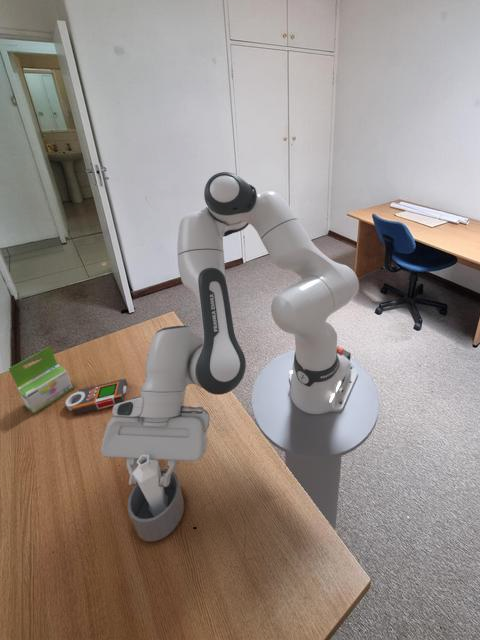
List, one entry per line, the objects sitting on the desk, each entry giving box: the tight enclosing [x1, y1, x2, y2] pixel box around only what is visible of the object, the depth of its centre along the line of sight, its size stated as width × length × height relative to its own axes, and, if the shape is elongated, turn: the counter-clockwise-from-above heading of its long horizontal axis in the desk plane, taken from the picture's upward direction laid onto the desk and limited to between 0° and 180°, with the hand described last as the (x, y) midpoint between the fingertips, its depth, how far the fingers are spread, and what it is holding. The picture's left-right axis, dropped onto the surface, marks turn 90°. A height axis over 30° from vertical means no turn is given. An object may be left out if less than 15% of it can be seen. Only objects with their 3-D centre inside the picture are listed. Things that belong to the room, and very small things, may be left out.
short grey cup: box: [127, 468, 185, 542], centre depth 66 cm, size 9×9×7 cm
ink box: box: [8, 345, 74, 415], centre depth 90 cm, size 10×5×14 cm, turn 148°
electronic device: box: [64, 378, 128, 416], centre depth 92 cm, size 7×3×15 cm
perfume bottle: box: [133, 455, 168, 517], centre depth 64 cm, size 5×4×15 cm
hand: (148, 485), depth 63 cm, fingers closed on perfume bottle, 4 cm apart
